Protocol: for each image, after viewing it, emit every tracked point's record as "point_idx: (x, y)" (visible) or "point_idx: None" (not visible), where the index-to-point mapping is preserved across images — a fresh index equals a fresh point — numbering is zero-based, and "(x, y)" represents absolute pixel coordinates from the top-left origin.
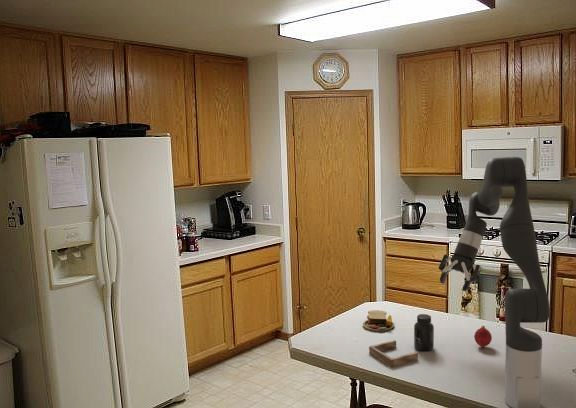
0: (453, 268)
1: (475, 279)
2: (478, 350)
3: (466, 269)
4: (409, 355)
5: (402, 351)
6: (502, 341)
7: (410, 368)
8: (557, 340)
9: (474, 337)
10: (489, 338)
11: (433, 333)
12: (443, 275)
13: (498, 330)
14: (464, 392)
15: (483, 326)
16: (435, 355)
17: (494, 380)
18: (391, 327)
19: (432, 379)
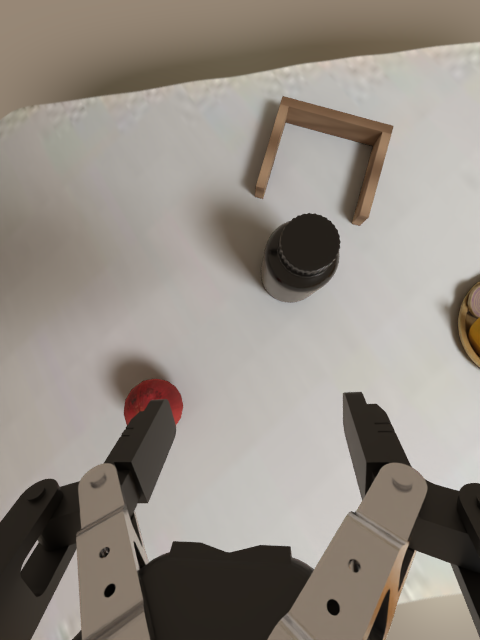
0: (303, 564)
1: (21, 498)
2: (162, 369)
3: (83, 581)
4: (264, 157)
5: (321, 214)
6: None
7: (238, 140)
8: None
9: (177, 391)
10: (125, 401)
11: (265, 272)
12: (369, 437)
13: None
14: (69, 123)
15: None
16: (235, 254)
17: (44, 226)
18: (461, 329)
19: (161, 127)
